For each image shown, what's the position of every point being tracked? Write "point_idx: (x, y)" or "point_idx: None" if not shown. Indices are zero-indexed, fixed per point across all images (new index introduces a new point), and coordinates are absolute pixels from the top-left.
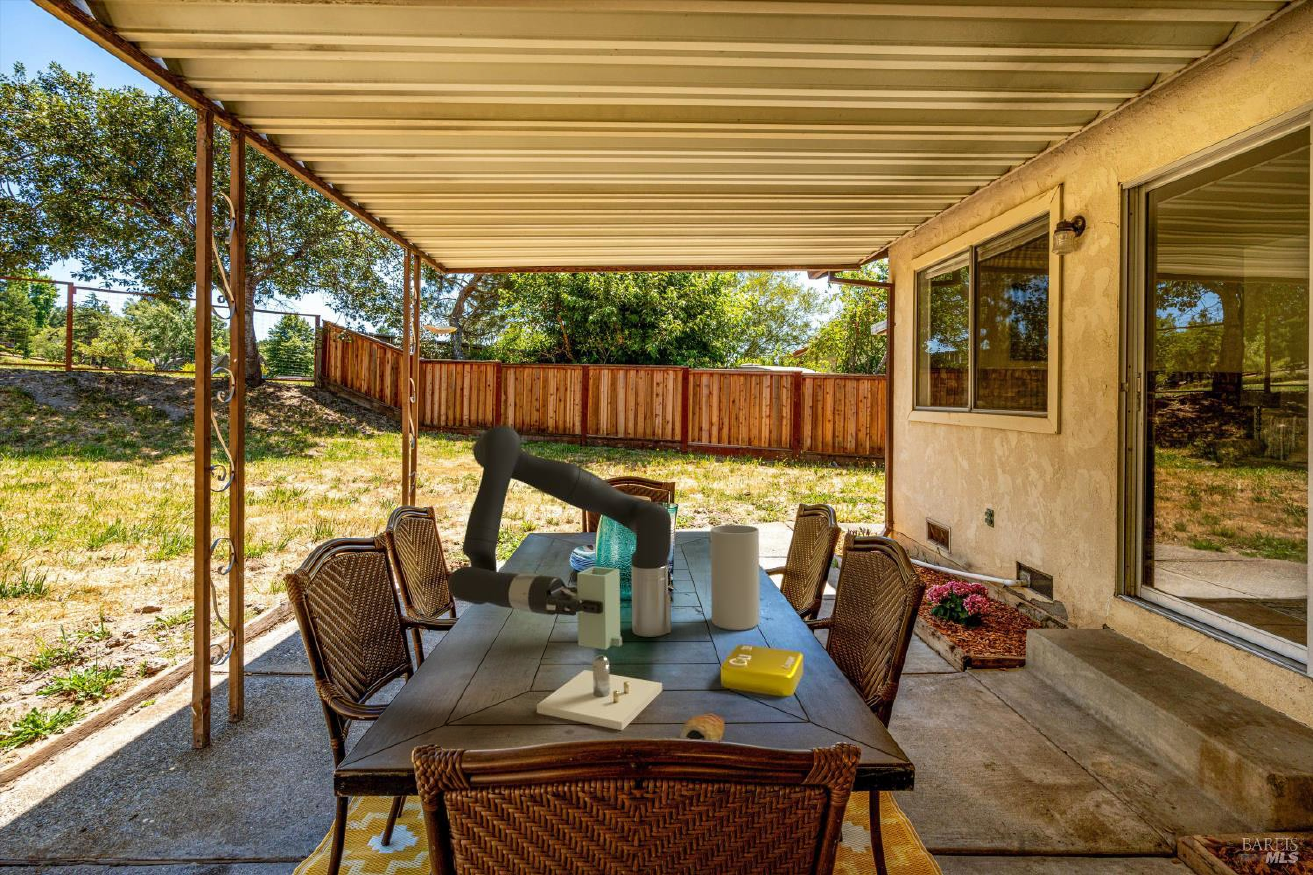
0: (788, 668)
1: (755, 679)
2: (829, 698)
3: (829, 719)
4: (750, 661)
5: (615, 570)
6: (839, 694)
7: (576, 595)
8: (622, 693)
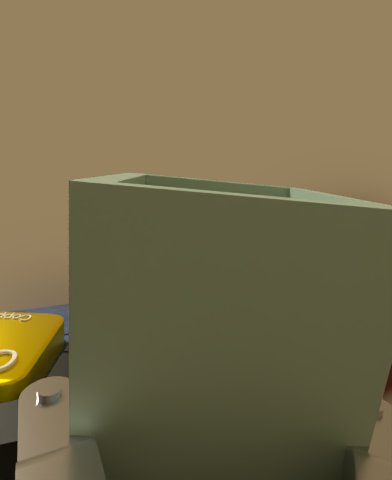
0: (31, 316)
1: (49, 350)
2: (68, 314)
3: None
4: None
5: (164, 176)
6: (55, 309)
7: (366, 454)
8: None
